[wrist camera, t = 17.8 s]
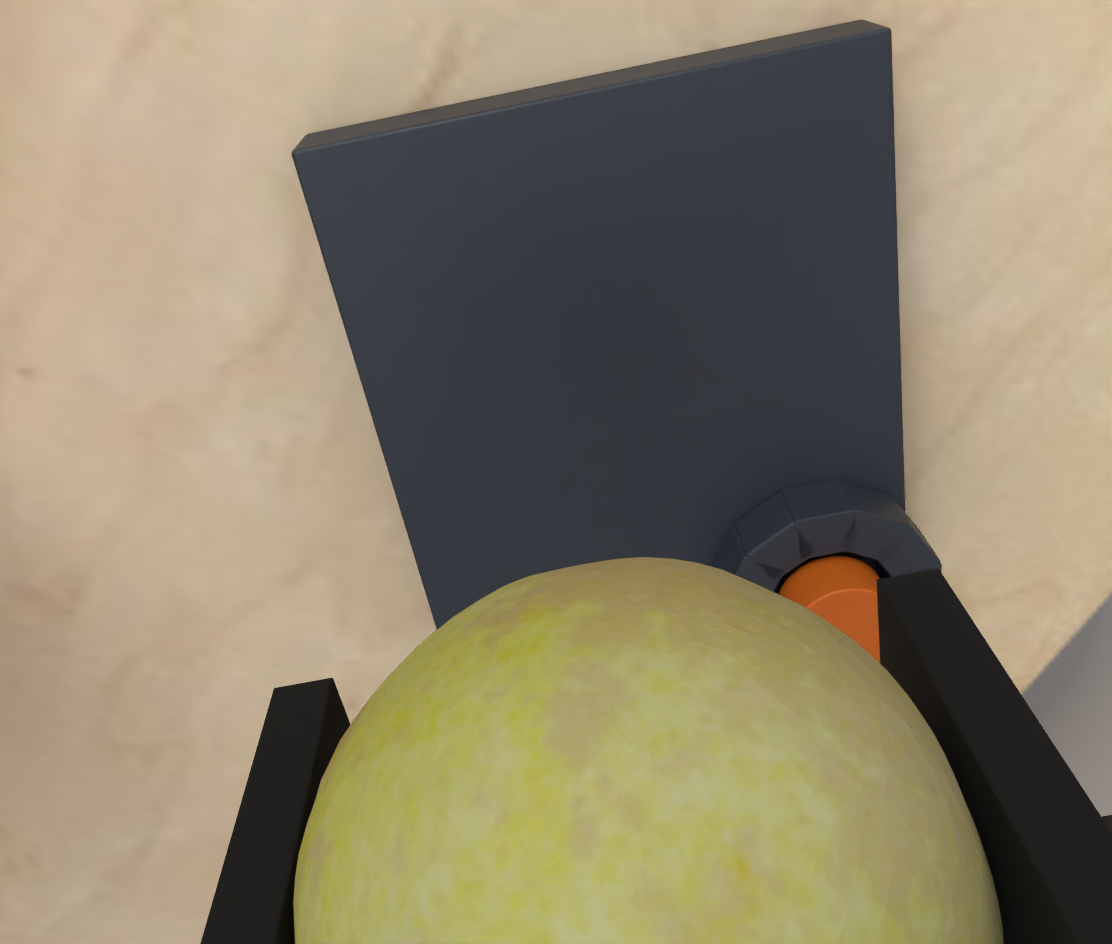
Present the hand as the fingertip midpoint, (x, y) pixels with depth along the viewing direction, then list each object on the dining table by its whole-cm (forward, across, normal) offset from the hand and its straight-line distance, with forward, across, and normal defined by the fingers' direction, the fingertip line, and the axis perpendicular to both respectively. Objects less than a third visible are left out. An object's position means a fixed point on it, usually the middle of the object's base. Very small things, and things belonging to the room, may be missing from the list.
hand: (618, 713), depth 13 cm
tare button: (+12, -6, +8) cm, 15 cm away
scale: (+15, -2, +2) cm, 15 cm away
